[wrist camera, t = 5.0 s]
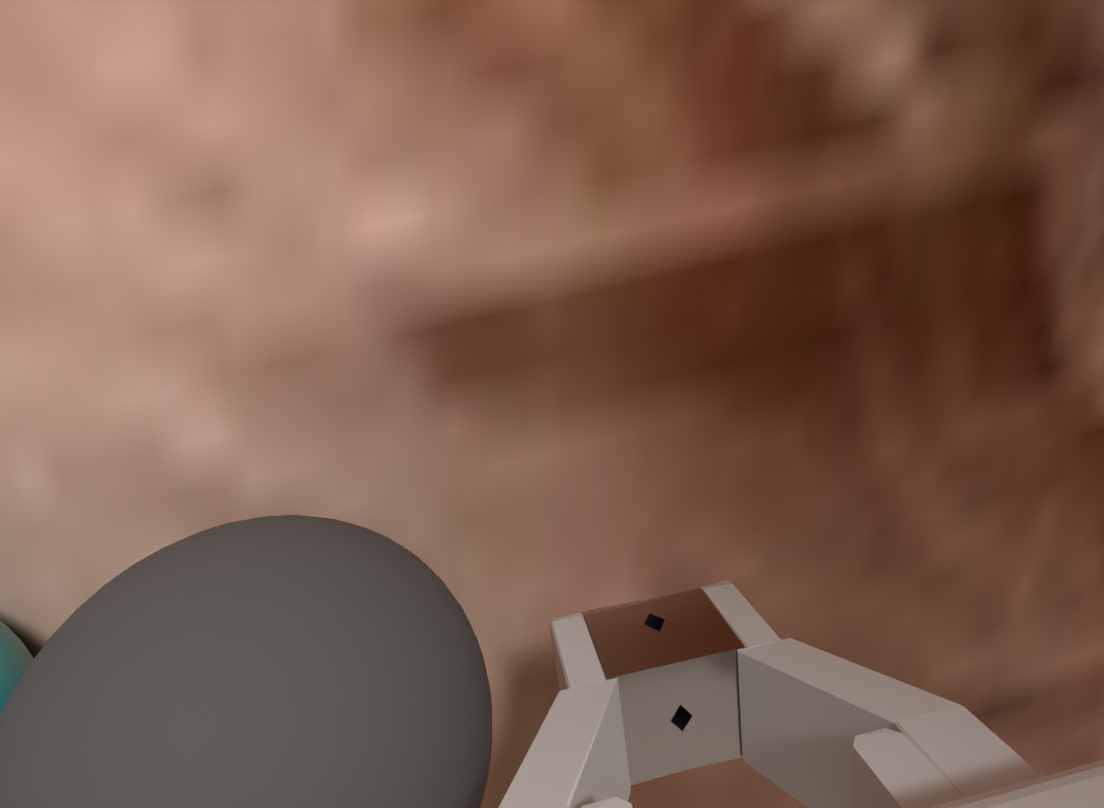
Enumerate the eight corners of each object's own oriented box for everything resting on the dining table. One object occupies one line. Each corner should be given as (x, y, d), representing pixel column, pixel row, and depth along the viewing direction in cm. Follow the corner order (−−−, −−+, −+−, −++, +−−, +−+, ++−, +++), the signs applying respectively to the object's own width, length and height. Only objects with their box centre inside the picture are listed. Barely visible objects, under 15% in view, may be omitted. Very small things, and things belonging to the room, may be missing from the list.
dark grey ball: (-107, 926, 3) (-197, 644, 7) (256, 1415, 5) (35, 990, 8) (530, 464, 8) (280, 439, 11) (601, 800, 10) (366, 690, 13)
